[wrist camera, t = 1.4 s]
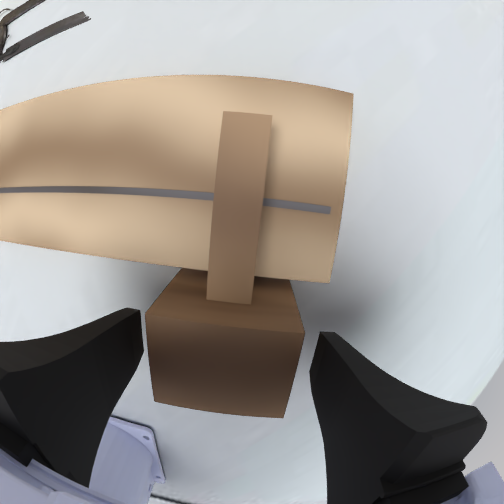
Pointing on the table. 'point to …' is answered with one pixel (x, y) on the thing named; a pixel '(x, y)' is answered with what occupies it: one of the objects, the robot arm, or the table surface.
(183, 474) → the table surface
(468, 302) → the table surface
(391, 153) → the table surface
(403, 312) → the table surface
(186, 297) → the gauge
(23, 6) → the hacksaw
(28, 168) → the board
